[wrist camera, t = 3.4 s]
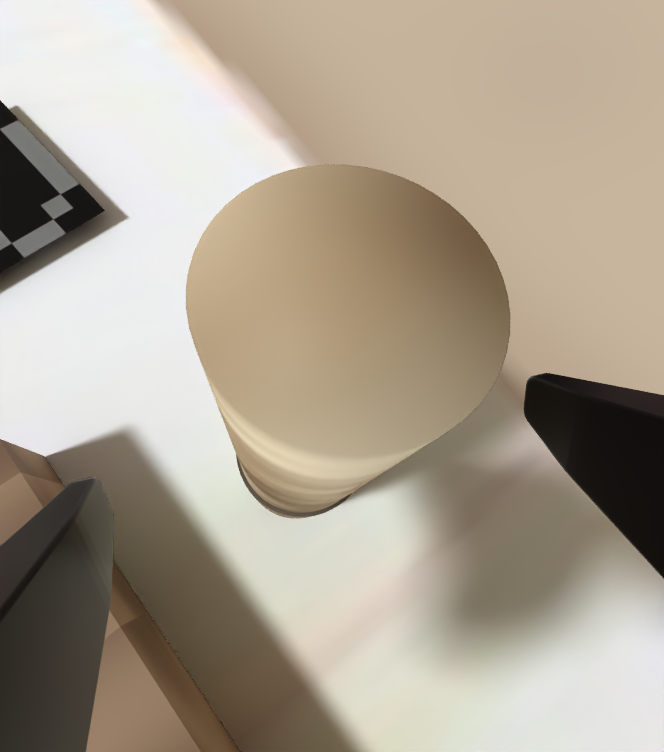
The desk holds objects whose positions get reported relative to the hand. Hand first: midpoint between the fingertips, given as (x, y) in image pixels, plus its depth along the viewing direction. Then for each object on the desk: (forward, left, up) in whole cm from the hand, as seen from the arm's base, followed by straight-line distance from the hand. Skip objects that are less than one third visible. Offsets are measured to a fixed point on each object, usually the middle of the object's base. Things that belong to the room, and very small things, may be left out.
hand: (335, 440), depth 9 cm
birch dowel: (+1, 0, -9) cm, 9 cm away
